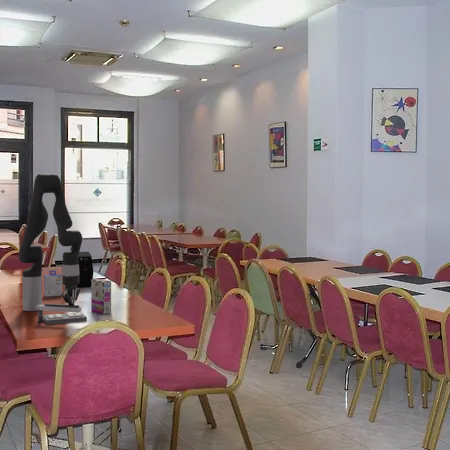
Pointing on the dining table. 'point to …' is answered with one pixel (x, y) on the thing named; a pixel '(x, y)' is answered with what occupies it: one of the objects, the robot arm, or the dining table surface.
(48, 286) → the ink cartridge box
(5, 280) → the dining table surface
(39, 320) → the pivot post
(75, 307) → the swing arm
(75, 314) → the label panel
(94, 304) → the candy bar box
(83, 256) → the uninterruptible power supply
